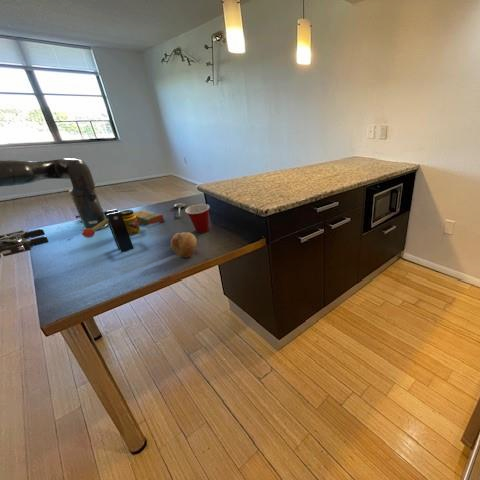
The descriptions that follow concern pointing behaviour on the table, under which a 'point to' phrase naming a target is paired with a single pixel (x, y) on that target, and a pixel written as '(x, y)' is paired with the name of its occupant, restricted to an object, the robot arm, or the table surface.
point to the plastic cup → (199, 217)
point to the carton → (148, 217)
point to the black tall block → (119, 230)
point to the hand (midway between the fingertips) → (45, 235)
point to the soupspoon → (179, 208)
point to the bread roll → (183, 244)
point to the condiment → (130, 222)
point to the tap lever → (93, 229)
